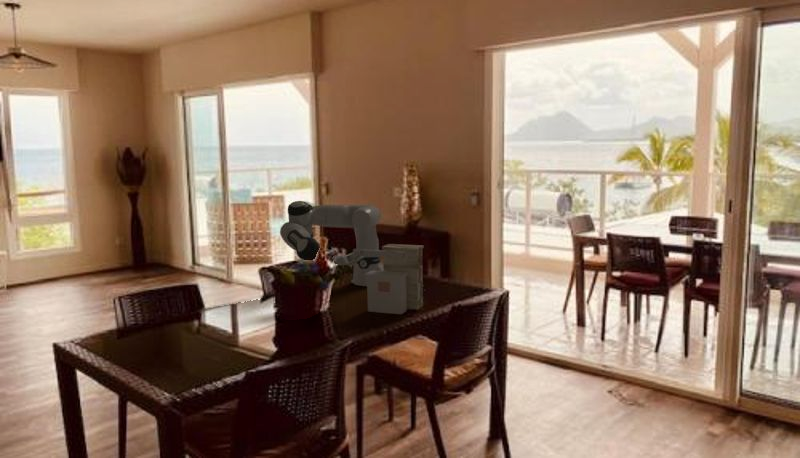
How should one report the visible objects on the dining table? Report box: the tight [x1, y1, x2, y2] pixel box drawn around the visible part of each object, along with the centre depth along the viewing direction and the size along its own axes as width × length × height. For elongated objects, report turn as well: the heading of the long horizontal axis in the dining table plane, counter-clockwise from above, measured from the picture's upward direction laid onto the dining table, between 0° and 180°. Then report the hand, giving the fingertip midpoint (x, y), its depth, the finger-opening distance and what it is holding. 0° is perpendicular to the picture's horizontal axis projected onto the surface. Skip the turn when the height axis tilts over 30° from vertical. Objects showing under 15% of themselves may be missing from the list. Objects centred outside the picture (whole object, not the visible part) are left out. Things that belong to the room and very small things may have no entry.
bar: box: [352, 247, 405, 259], centre depth 249 cm, size 22×3×3 cm, turn 70°
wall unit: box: [381, 243, 425, 311], centre depth 256 cm, size 8×16×26 cm, turn 70°
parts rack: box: [365, 271, 408, 315], centre depth 250 cm, size 7×16×16 cm, turn 70°
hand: (362, 251), depth 251 cm, fingers closed on bar, 3 cm apart
